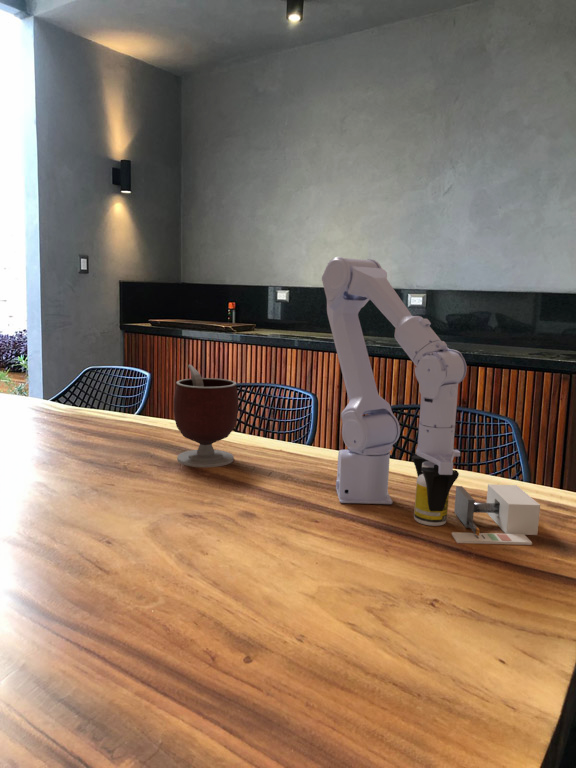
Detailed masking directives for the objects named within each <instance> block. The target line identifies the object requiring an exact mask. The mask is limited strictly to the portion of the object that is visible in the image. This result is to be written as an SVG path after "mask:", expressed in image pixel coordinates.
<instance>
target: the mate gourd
mask: <svg viewBox="0 0 576 768" xmlns="http://www.w3.org/2000/svg"><path fill="white" fill-rule="evenodd" d="M187 368H188V369H189V371H190V375H191V378H185V379H180V380H177V381H176V382H175V383H176V386H175V390H174V396H173V414H174V415H173V417H174V422H175V424H176V426H175V427H176V428H177V429H178V431H179V432H180V433H181V436H183V437H184V438H186V439H188V440H190V441H193V442H195V443H197V444H199V446H198V448H197V449H191V450H186V451H184V452H183V451H182V452H181V453H179V454H177V457H176V460H177V462H178V463H179V464H180V465H184V466H186V467H187V466H188V467H194V468H215V467H218V468H219V467H223V466H224V467H225V466H226V465H229V464H231V463H233V462H234V455H233V454H232V453H231V452H228V451H225V450H219V449H214V447H213V445H212V444H214V443H216V442H219V441H222V440H223V439H226V438H228V437H229V436H230V434H232V431H234V429H235V428H236V425H237V422H238V421H237V420H238V414H239V395H238V394H239V393H238V388H237V381H235V380H234V381H233V380H231V379H230V380H229V379H226V378H225V379H224V378H215V377H213V378H212V377H211V378H210V377H209V378H208V377H204V378H203V377H202V375H201V373H200V372H199V371H198V370H197V369H196V368H195V367H194V366H193V365H192V364H188V365H187Z"/></svg>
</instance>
